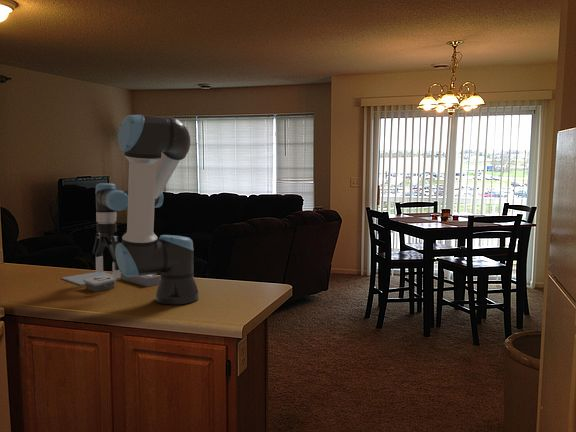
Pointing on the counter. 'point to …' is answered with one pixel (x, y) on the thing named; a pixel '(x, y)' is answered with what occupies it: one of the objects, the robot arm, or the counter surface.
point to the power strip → (143, 280)
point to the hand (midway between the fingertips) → (107, 275)
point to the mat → (85, 277)
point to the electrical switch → (99, 283)
